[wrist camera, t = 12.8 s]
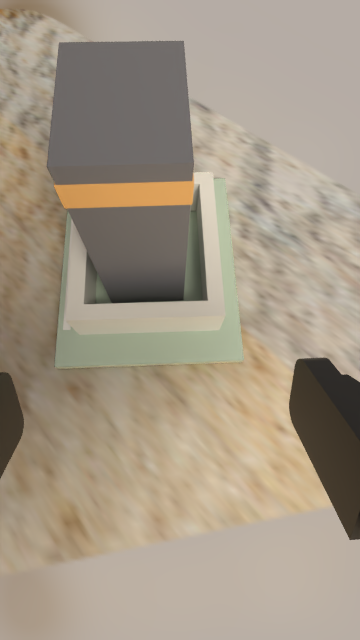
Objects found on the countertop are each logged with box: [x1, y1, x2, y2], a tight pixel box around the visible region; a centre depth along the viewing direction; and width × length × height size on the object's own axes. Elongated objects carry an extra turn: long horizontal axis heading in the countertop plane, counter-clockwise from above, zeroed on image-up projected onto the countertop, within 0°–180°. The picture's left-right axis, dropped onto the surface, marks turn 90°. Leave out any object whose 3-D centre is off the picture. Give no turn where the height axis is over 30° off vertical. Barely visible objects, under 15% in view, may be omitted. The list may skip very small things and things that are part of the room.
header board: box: [54, 172, 244, 369], centre depth 18 cm, size 10×12×3 cm
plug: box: [47, 41, 194, 303], centre depth 15 cm, size 4×5×10 cm
